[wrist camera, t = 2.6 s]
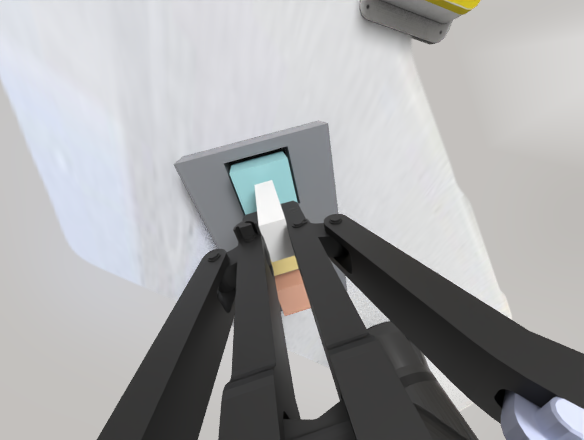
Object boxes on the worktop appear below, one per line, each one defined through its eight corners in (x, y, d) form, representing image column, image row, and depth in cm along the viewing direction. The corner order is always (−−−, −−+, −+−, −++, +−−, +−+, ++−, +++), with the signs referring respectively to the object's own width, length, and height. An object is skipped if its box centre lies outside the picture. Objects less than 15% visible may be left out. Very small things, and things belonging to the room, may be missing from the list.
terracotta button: (314, 287, 30) (320, 304, 28) (281, 298, 30) (284, 316, 27) (308, 263, 28) (315, 279, 25) (272, 274, 27) (275, 291, 25)
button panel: (339, 275, 33) (346, 290, 30) (254, 302, 32) (255, 319, 30) (318, 120, 21) (327, 123, 19) (182, 156, 20) (173, 164, 18)
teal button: (293, 196, 22) (299, 208, 20) (248, 209, 22) (248, 223, 20) (282, 150, 20) (287, 157, 17) (231, 164, 20) (229, 173, 17)
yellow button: (305, 248, 26) (311, 264, 24) (267, 260, 26) (269, 277, 24) (297, 216, 24) (303, 229, 21) (255, 228, 23) (256, 243, 21)
